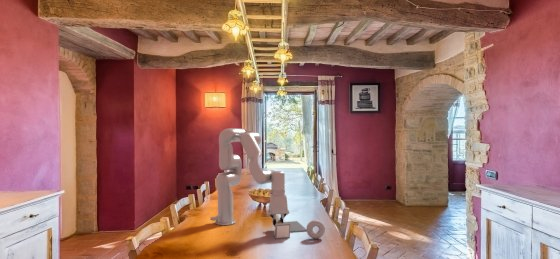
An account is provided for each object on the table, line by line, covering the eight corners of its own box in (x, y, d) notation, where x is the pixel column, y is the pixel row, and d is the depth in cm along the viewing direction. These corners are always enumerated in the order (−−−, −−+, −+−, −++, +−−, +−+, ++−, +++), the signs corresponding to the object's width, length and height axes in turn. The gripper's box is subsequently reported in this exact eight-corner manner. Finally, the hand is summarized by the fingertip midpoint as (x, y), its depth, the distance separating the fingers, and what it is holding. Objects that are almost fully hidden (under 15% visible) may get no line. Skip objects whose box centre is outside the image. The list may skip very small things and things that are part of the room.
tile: (275, 239, 179) (276, 225, 177) (274, 237, 180) (275, 223, 179) (289, 237, 181) (290, 224, 179) (288, 236, 182) (289, 222, 181)
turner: (274, 236, 180) (275, 229, 179) (268, 221, 196) (268, 215, 196) (289, 235, 182) (289, 228, 181) (281, 220, 198) (281, 214, 198)
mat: (287, 232, 190) (287, 231, 190) (278, 223, 209) (278, 222, 209) (307, 231, 193) (307, 230, 193) (297, 222, 212) (297, 221, 212)
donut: (324, 237, 181) (324, 219, 181) (325, 239, 177) (325, 220, 178) (306, 237, 181) (306, 219, 181) (306, 239, 177) (306, 220, 177)
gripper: (265, 195, 184) (265, 228, 184) (293, 193, 188) (293, 226, 188) (262, 192, 191) (262, 224, 191) (290, 191, 195) (290, 222, 195)
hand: (278, 225), depth 189 cm, fingers closed on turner, 3 cm apart
